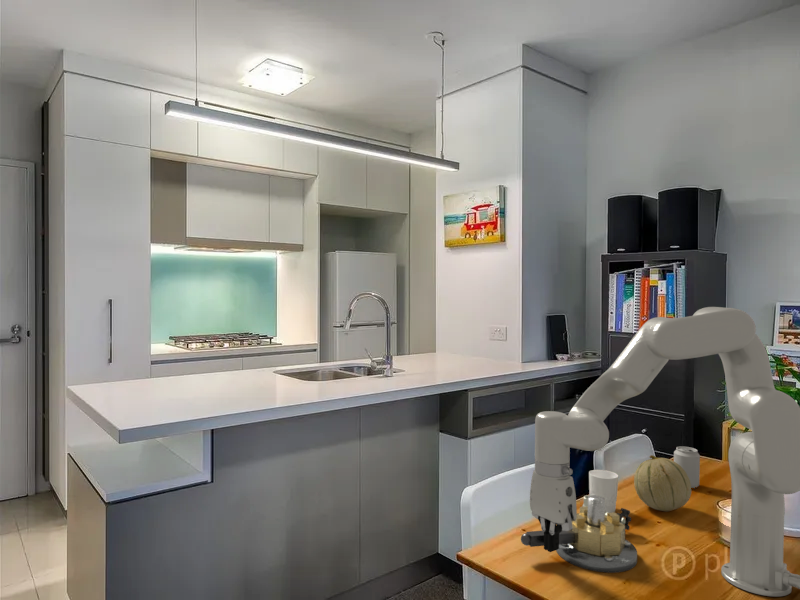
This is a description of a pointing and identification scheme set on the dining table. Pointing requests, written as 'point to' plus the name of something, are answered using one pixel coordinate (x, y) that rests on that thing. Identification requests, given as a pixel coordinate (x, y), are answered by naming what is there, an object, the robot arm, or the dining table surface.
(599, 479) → the white cup
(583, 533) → the castle nut fixture
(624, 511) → the valve
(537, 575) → the dining table surface
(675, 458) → the can
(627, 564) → the cap plate
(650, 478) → the cantaloupe
